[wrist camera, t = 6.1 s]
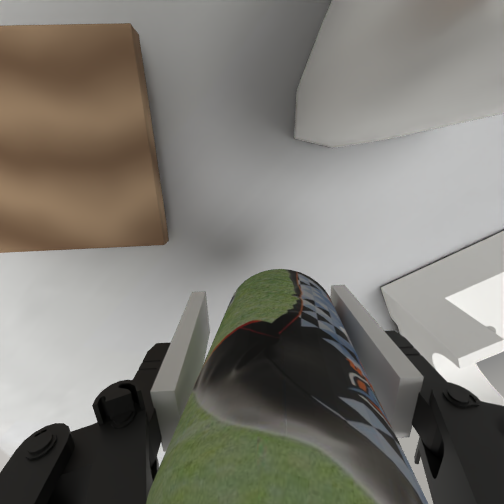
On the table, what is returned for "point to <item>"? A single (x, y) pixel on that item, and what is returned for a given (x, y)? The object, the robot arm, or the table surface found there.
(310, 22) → the table surface
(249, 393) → the beverage can
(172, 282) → the table surface
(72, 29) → the wooden serving board
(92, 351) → the table surface
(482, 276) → the white pipe support bracket
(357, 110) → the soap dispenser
